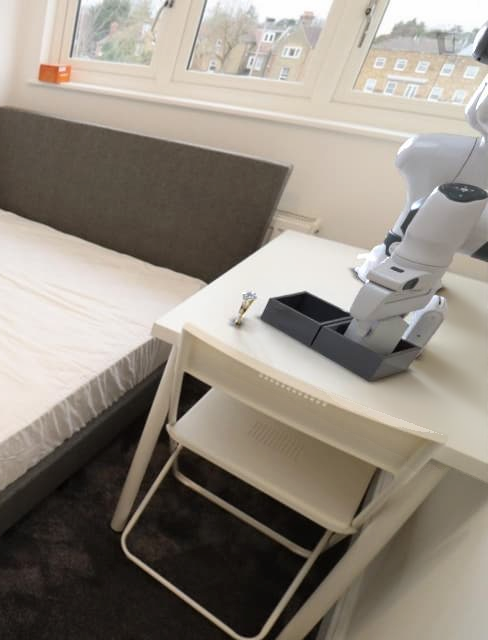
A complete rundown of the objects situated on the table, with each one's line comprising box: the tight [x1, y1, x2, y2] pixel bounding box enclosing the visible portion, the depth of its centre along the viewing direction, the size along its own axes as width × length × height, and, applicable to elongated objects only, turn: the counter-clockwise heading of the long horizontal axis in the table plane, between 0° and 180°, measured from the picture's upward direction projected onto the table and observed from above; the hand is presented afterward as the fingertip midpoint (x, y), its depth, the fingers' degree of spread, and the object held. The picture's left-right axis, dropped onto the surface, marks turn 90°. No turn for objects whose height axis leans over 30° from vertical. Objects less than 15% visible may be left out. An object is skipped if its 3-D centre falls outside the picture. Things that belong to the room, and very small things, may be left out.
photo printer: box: [402, 294, 449, 358], centre depth 111 cm, size 10×4×12 cm, turn 140°
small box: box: [343, 315, 409, 356], centre depth 107 cm, size 8×6×10 cm
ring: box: [234, 290, 258, 324], centre depth 118 cm, size 7×3×8 cm, turn 139°
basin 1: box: [259, 290, 354, 347], centre depth 118 cm, size 13×13×6 cm
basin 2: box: [310, 319, 422, 382], centre depth 108 cm, size 13×13×6 cm
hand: (374, 331), depth 106 cm, fingers closed on small box, 8 cm apart
